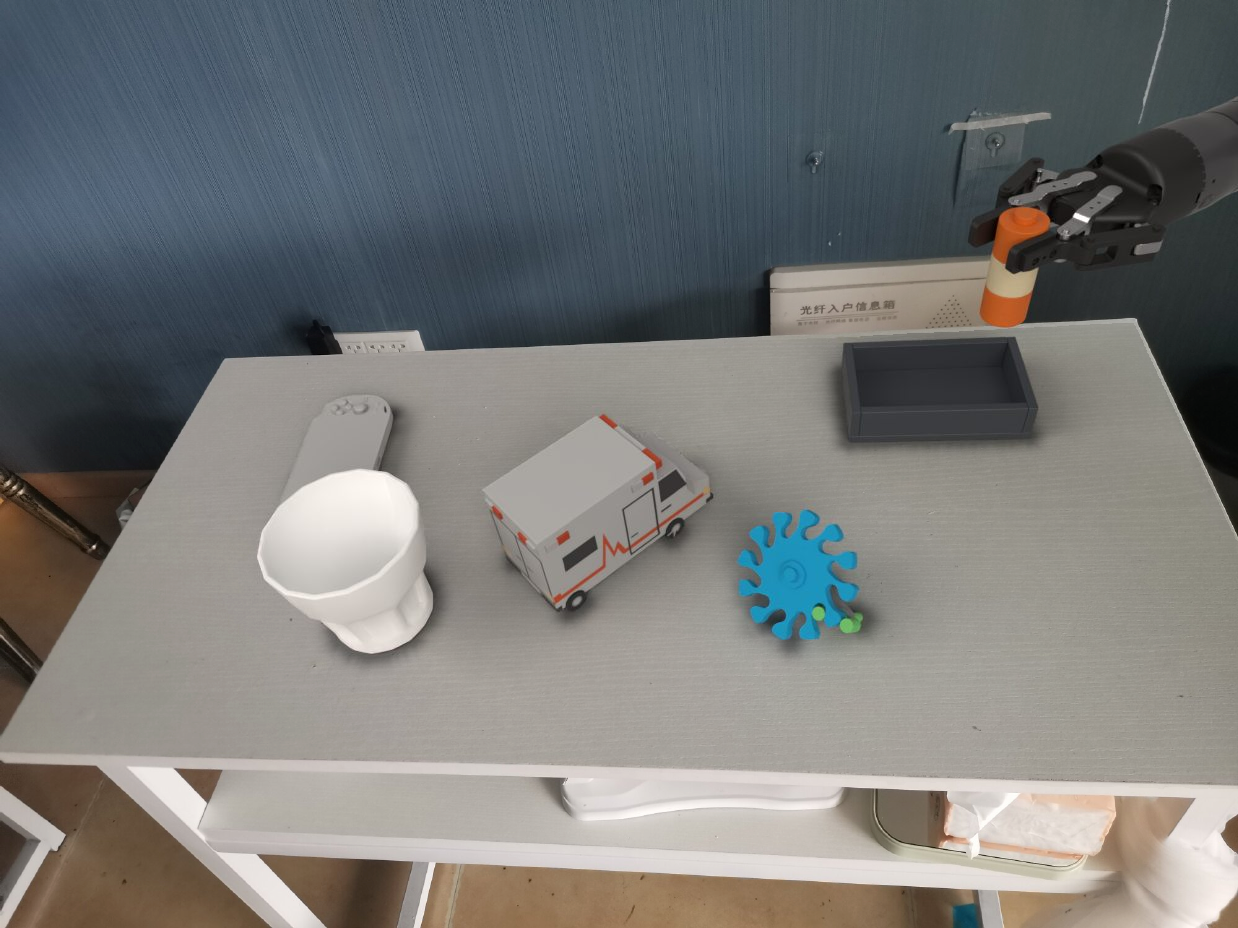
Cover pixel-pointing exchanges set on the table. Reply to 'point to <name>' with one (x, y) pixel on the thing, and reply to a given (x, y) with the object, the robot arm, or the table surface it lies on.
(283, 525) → the cup
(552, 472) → the toy vehicle
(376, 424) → the game console
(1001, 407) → the bin
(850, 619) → the gear
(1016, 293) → the orange cylinder
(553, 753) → the table surface
